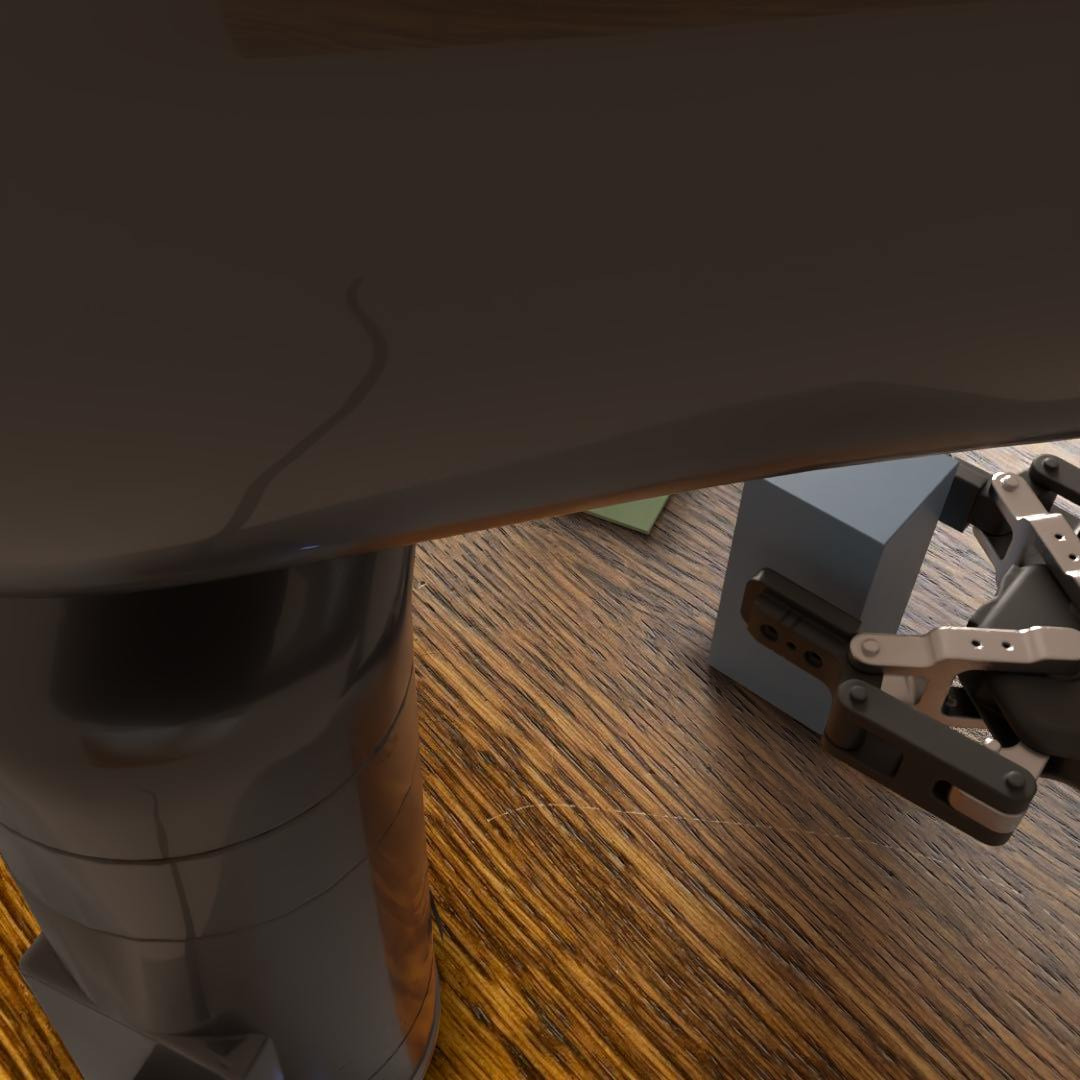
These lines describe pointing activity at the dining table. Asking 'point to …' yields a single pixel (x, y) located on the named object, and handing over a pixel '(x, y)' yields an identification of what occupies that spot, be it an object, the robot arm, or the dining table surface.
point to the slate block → (828, 561)
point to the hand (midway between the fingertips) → (818, 521)
